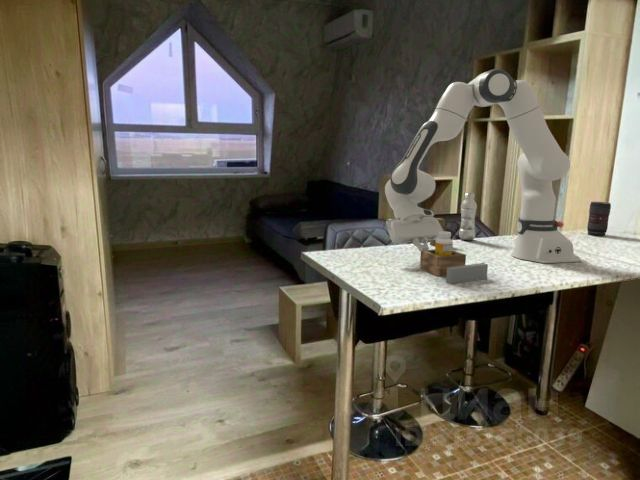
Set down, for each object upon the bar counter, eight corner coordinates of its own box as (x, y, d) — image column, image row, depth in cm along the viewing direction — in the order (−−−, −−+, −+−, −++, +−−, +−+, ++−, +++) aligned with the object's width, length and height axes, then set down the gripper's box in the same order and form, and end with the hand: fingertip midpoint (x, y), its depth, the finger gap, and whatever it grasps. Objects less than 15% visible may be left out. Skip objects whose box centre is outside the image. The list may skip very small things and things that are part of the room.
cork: (445, 246, 187) (447, 219, 185) (429, 246, 188) (431, 219, 186) (444, 243, 193) (446, 217, 191) (429, 243, 194) (430, 216, 192)
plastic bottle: (472, 242, 196) (476, 194, 192) (456, 240, 199) (459, 193, 195) (476, 239, 201) (480, 193, 197) (460, 237, 205) (463, 192, 201)
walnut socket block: (419, 268, 154) (420, 250, 153) (444, 265, 158) (445, 248, 157) (439, 276, 145) (440, 257, 144) (464, 272, 149) (466, 254, 148)
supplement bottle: (432, 259, 153) (433, 230, 151) (447, 259, 154) (449, 230, 152) (437, 264, 148) (439, 234, 146) (454, 263, 148) (456, 233, 146)
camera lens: (608, 237, 208) (613, 203, 205) (587, 236, 210) (592, 202, 207) (604, 234, 215) (609, 201, 212) (584, 232, 218) (588, 200, 215)
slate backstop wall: (446, 282, 139) (446, 267, 138) (481, 276, 145) (483, 262, 144) (450, 284, 138) (451, 269, 137) (486, 278, 143) (487, 264, 142)
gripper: (388, 213, 159) (403, 247, 152) (436, 210, 167) (452, 243, 160) (380, 224, 164) (394, 258, 157) (427, 221, 172) (443, 252, 165)
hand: (424, 250), depth 159 cm, fingers closed
